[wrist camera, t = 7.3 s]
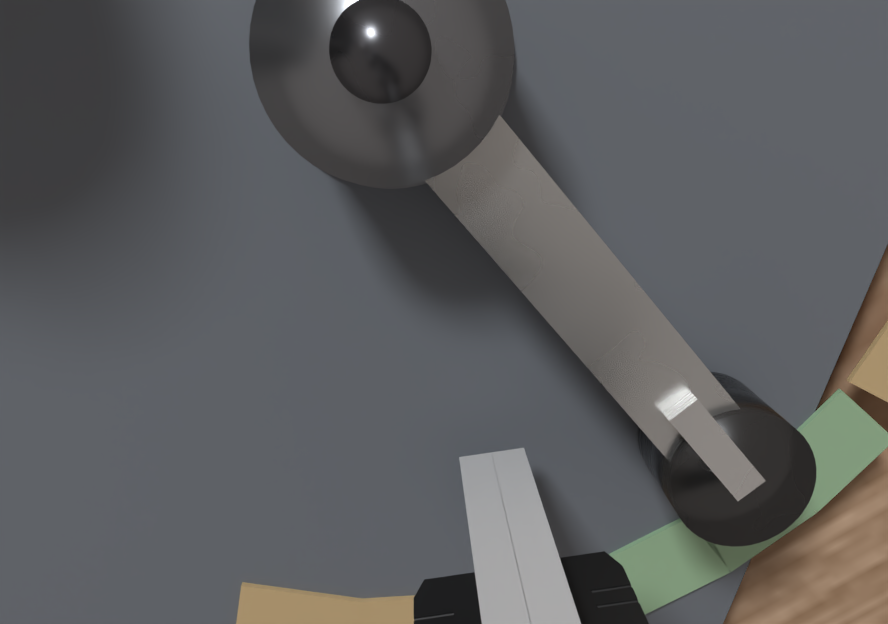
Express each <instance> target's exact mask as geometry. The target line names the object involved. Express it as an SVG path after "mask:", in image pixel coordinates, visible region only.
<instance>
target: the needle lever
mask: <svg viewBox="0 0 888 624" xmlns="http://www.w3.org/2000/svg"><path fill="white" fill-rule="evenodd" d="M249 53H250V64H251V70H252V75H253V80H254V83H255V87H256V90H257V93H258V96H259V99H260V101H261V103H262V105H263V107H264V109H265V112H266V114H267V115H268V117H269V119H270V120H271V122H272V123H273V125H274V127H275V128H276V130H277V131H278V132H279V133H280V135H281V136H282V137H283V138H284V140H285V141H286V142H287V143H288V144H289V145H290V146H291V147H292V148H293V149H294V150H295V151H296V152H297V153H298V154H299V155H300V156H302V157H303V158H304V159H306V160H307V161H308V162H310V163H311V164H312V165H314V166H315V167H317V168H319V169H321V170H322V171H324V172H326V173H328V174H330V175H332V176H335V177H337V178H340V179H342V180H345V181H349V182H352V183H356V184H360V185H367V186H375V187H395V186H402V185H410V184H413V183H417V182H421V181H425V182H426V183H427V184H428V185H429V186H430V187H431V188H432V190H433V191H434V192H435V193H436V194H437V195H438V196H439V198H440V199H441V200H442V201H443V202H444V203H445V205H446V206H447V207H448V208H449V209H450V210H451V211H452V213H453V214H454V215H455V216H456V217H457V218H458V219H459V221H460V222H461V223H462V224H463V225H464V226H465V228H466V229H467V230H468V231H469V232H470V233H471V234H472V236H473V237H474V238H475V239H476V240H477V241H478V242H479V244H480V245H481V246H482V247H483V248H484V249H485V251H486V252H487V253H488V254H489V255H490V256H491V257H492V259H493V260H494V261H495V262H496V263H497V264H498V265H499V267H500V268H501V269H502V270H503V271H504V272H505V274H506V275H507V276H508V277H509V278H510V279H511V280H512V282H513V283H514V284H515V285H516V286H517V287H518V288H519V290H520V291H521V292H522V293H523V294H524V295H525V296H526V298H527V299H528V300H529V301H530V302H531V303H532V305H533V306H534V307H535V308H536V309H537V310H538V311H539V313H540V314H541V315H542V316H543V317H544V318H545V319H546V321H547V322H548V323H549V324H550V325H551V326H552V328H553V329H554V330H555V331H556V332H557V333H558V334H559V336H560V337H561V338H562V339H563V340H564V341H565V342H566V344H567V345H568V346H569V347H570V348H571V349H572V351H573V352H574V353H575V354H576V355H577V356H578V357H579V359H580V360H581V361H582V362H583V363H584V364H585V365H586V367H587V368H588V369H589V370H590V371H591V372H592V374H593V375H594V376H595V377H596V378H597V379H598V380H599V382H600V383H601V384H602V385H603V386H604V387H605V388H606V390H607V391H608V392H609V393H610V394H611V395H612V397H613V398H614V399H615V400H616V401H617V402H618V403H619V405H620V406H621V407H622V408H623V409H624V410H625V411H626V413H627V414H628V415H629V416H630V417H631V418H632V420H633V421H634V422H635V423H636V424H637V425H638V435H637V437H638V446H639V451H640V454H641V456H642V458H643V460H644V462H645V464H646V466H647V467H648V469H649V470H650V472H651V473H652V475H653V477H654V478H655V480H656V481H657V483H658V484H659V486H660V488H661V489H662V491H663V492H664V494H665V495H666V497H667V499H668V500H669V502H670V503H671V505H672V506H673V508H674V510H675V511H676V513H677V514H678V516H679V517H680V519H681V520H682V522H683V523H684V524H685V526H686V527H687V528H688V529H689V530H690V531H691V532H693V533H694V534H696V535H697V536H698V537H700V538H702V539H704V540H706V541H708V542H711V543H714V544H718V545H722V546H731V547H736V546H748V545H753V544H757V543H760V542H763V541H766V540H768V539H770V538H772V537H774V536H776V535H778V534H780V533H781V532H783V531H784V530H786V529H787V528H788V527H789V526H791V525H792V524H793V523H794V522H795V521H796V520H797V519H798V518H799V516H800V515H801V514H802V513H803V511H804V510H805V508H806V507H807V505H808V503H809V501H810V499H811V497H812V494H813V491H814V488H815V483H816V461H815V457H814V454H813V451H812V449H811V447H810V445H809V443H808V442H807V440H806V439H805V437H804V436H803V435H802V434H801V433H800V432H799V431H798V430H797V429H796V428H794V427H793V426H792V425H791V424H790V423H789V422H787V421H786V420H785V419H784V418H783V417H782V416H780V415H779V414H778V413H777V412H776V411H775V410H773V409H772V408H771V407H770V406H769V405H768V404H766V403H765V402H764V401H763V400H762V399H761V398H759V397H758V396H757V395H756V394H755V393H754V392H753V391H751V390H750V389H749V388H748V387H747V386H745V385H744V384H743V383H742V382H740V381H739V380H737V379H735V378H733V377H731V376H728V375H725V374H721V373H716V372H710V371H709V370H708V368H707V367H706V366H705V365H704V364H703V362H702V361H701V360H700V359H699V358H698V356H697V355H696V354H695V353H694V351H693V350H692V349H691V348H690V347H689V345H688V344H687V343H686V342H685V340H684V339H683V338H682V337H681V336H680V334H679V333H678V332H677V331H676V329H675V328H674V327H673V326H672V325H671V323H670V322H669V321H668V320H667V318H666V317H665V316H664V315H663V314H662V312H661V311H660V310H659V309H658V307H657V306H656V305H655V304H654V303H653V301H652V300H651V299H650V298H649V296H648V295H647V294H646V293H645V292H644V290H643V289H642V288H641V287H640V286H639V284H638V283H637V282H636V281H635V279H634V278H633V277H632V276H631V275H630V273H629V272H628V271H627V270H626V268H625V267H624V266H623V265H622V264H621V262H620V261H619V260H618V259H617V257H616V256H615V255H614V254H613V253H612V251H611V250H610V249H609V248H608V246H607V245H606V244H605V243H604V242H603V240H602V239H601V238H600V237H599V235H598V234H597V233H596V232H595V231H594V229H593V228H592V227H591V226H590V224H589V223H588V222H587V221H586V220H585V218H584V217H583V216H582V215H581V213H580V212H579V211H578V210H577V209H576V207H575V206H574V205H573V204H572V203H571V201H570V200H569V199H568V198H567V196H566V195H565V194H564V193H563V192H562V190H561V189H560V188H559V187H558V185H557V184H556V183H555V182H554V181H553V179H552V178H551V177H550V176H549V174H548V173H547V172H546V171H545V170H544V168H543V167H542V166H541V165H540V163H539V162H538V161H537V160H536V159H535V157H534V156H533V155H532V154H531V152H530V151H529V150H528V149H527V148H526V146H525V145H524V144H523V143H522V141H521V140H520V139H519V138H518V137H517V135H516V134H515V133H514V132H513V130H512V129H511V128H510V127H509V126H508V124H507V123H506V122H505V121H504V120H503V118H502V117H501V116H500V115H499V114H500V112H501V110H502V107H503V105H504V103H505V100H506V98H507V94H508V91H509V87H510V84H511V79H512V72H513V66H514V37H513V27H512V23H511V18H510V14H509V9H508V6H507V4H506V1H505V0H256V1H255V4H254V8H253V13H252V18H251V23H250V35H249Z"/></svg>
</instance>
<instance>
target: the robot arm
mask: <svg viewBox="0 0 888 624" xmlns="http://www.w3.org/2000/svg"><path fill="white" fill-rule="evenodd" d="M459 460H460V467H461V475H462V482H463V489H464V497H465V504H466V512H467V519H468V526H469V534H470V541H471V548H472V556H473V563H474V570H475V572H472V573H465V574H458V575H452V576H445V577H438V578H431V579H424V581H423V582H422V584H421V586H420V588H419V589H418V591H417V593H416V595H415V596H414V624H649V623H648V621H647V618H646V616H645V614H644V612H643V610H642V607H641V605H640V603H638V599H637V596H636V594H635V592H634V590H633V588H632V587H631V583H630V581H629V579H628V577H627V574H626V572H625V570H624V568H623V566H622V565H621V564H620V563H619V562H617V561H616V560H615V559H614V558H612V557H611V556H610V555H609V554H607V553H606V552H605V551H603V552H596V553H589V554H582V555H576V556H569V557H562V558H560V557H559V554H558V551H557V548H556V545H555V542H554V539H553V536H552V533H551V529H550V526H549V523H548V520H547V517H546V514H545V511H544V508H543V505H542V502H541V499H540V496H539V493H538V489H537V486H536V483H535V480H534V477H533V474H532V471H531V468H530V465H529V462H528V459H527V456H526V453H525V450H524V448H518V449H511V450H505V451H498V452H491V453H484V454H477V455H470V456H463V457H459Z"/></svg>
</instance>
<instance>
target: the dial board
mask: <svg viewBox="0 0 888 624" xmlns="http://www.w3.org/2000/svg"><path fill="white" fill-rule="evenodd" d="M255 1H256V0H0V624H414V596H415V595H416V593H417V591H418V589H419V588H420V586H421V584H422V582H423V581H424V579H431V578H438V577H445V576H452V575H458V574H465V573H472V572H475V570H474V563H473V556H472V548H471V541H470V534H469V526H468V519H467V512H466V504H465V497H464V489H463V482H462V475H461V467H460V460H459V457H463V456H470V455H477V454H484V453H491V452H498V451H505V450H511V449H518V448H524V450H525V453H526V456H527V459H528V462H529V465H530V468H531V471H532V474H533V477H534V480H535V483H536V486H537V489H538V493H539V496H540V499H541V502H542V505H543V508H544V511H545V514H546V517H547V520H548V523H549V526H550V529H551V533H552V536H553V539H554V542H555V545H556V548H557V551H558V554H559V557H560V558H562V557H569V556H576V555H582V554H589V553H596V552H603V551H605V552H606V553H607V554H609V555H610V556H611V557H612V558H614V559H615V560H616V561H617V562H619V563H620V564H621V565H622V566H623V568H624V570H625V572H626V574H627V577H628V579H629V581H630V583H631V587H632V588H633V590H634V592H635V594H636V596H637V599H638V603H640V605H641V607H642V610H643V612H644V614H645V616H646V618H647V621H648V623H649V624H723V622H724V620H725V618H726V616H727V613H728V611H729V609H730V606H731V604H732V602H733V599H734V597H735V595H736V592H737V590H738V588H739V586H740V583H741V581H742V579H743V576H744V574H745V572H746V569H747V567H748V565H749V563H750V560H751V558H752V557H754V556H755V555H757V554H758V553H760V552H761V551H762V550H764V549H765V548H767V547H768V546H770V545H771V544H773V543H774V542H776V541H777V540H778V539H780V538H781V537H783V536H784V535H786V534H787V533H789V532H790V531H791V530H793V529H794V528H796V527H797V526H799V525H800V524H802V523H803V522H804V521H806V520H807V519H809V518H810V517H812V516H813V515H815V514H816V512H818V511H820V510H821V509H822V508H823V507H824V506H825V505H826V504H827V503H828V502H829V501H830V500H831V499H832V498H833V497H835V496H836V495H837V494H838V493H839V492H840V491H841V490H842V489H843V488H844V487H845V486H846V485H847V484H848V483H849V482H851V481H852V480H853V479H854V478H855V477H856V476H857V475H858V474H859V473H860V472H861V471H862V470H863V469H864V468H866V467H867V466H868V465H869V464H870V463H871V462H872V461H873V460H874V459H875V458H876V457H877V456H878V455H879V454H881V453H882V452H883V451H884V450H885V449H886V448H887V447H888V432H887V431H886V430H885V429H883V428H882V427H881V426H880V425H879V424H878V423H877V422H876V421H875V420H874V419H873V418H871V417H870V416H869V415H868V414H867V413H866V412H865V411H864V410H863V409H862V408H860V407H859V406H858V405H857V404H856V403H855V402H854V401H853V400H852V399H851V398H850V397H848V396H847V395H846V394H845V393H844V392H843V391H842V390H840V389H838V390H837V391H836V392H835V393H834V394H833V395H832V396H831V397H830V398H829V399H828V400H827V401H826V402H825V403H823V404H822V405H821V406H820V407H819V408H818V409H817V410H816V408H817V406H818V404H819V401H820V399H821V397H822V394H823V392H824V390H825V387H826V385H827V383H828V380H829V378H830V376H831V374H832V371H833V369H834V367H835V364H836V362H837V360H838V357H839V355H840V353H841V351H842V348H843V346H844V344H845V341H846V339H847V337H848V334H849V332H850V330H851V327H852V325H853V323H854V321H855V318H856V316H857V314H858V311H859V309H860V307H861V304H862V302H863V300H864V298H865V295H866V293H867V291H868V288H869V286H870V284H871V281H872V279H873V277H874V274H875V272H876V270H877V268H878V265H879V263H880V261H881V258H882V256H883V254H884V251H885V249H886V247H887V245H888V0H505V1H506V4H507V6H508V9H509V14H510V18H511V23H512V27H513V37H514V66H513V72H512V79H511V84H510V87H509V91H508V94H507V98H506V100H505V103H504V105H503V107H502V110H501V112H500V114H499V115H500V116H501V117H502V118H503V120H504V121H505V122H506V123H507V124H508V126H509V127H510V128H511V129H512V130H513V132H514V133H515V134H516V135H517V137H518V138H519V139H520V140H521V141H522V143H523V144H524V145H525V146H526V148H527V149H528V150H529V151H530V152H531V154H532V155H533V156H534V157H535V159H536V160H537V161H538V162H539V163H540V165H541V166H542V167H543V168H544V170H545V171H546V172H547V173H548V174H549V176H550V177H551V178H552V179H553V181H554V182H555V183H556V184H557V185H558V187H559V188H560V189H561V190H562V192H563V193H564V194H565V195H566V196H567V198H568V199H569V200H570V201H571V203H572V204H573V205H574V206H575V207H576V209H577V210H578V211H579V212H580V213H581V215H582V216H583V217H584V218H585V220H586V221H587V222H588V223H589V224H590V226H591V227H592V228H593V229H594V231H595V232H596V233H597V234H598V235H599V237H600V238H601V239H602V240H603V242H604V243H605V244H606V245H607V246H608V248H609V249H610V250H611V251H612V253H613V254H614V255H615V256H616V257H617V259H618V260H619V261H620V262H621V264H622V265H623V266H624V267H625V268H626V270H627V271H628V272H629V273H630V275H631V276H632V277H633V278H634V279H635V281H636V282H637V283H638V284H639V286H640V287H641V288H642V289H643V290H644V292H645V293H646V294H647V295H648V296H649V298H650V299H651V300H652V301H653V303H654V304H655V305H656V306H657V307H658V309H659V310H660V311H661V312H662V314H663V315H664V316H665V317H666V318H667V320H668V321H669V322H670V323H671V325H672V326H673V327H674V328H675V329H676V331H677V332H678V333H679V334H680V336H681V337H682V338H683V339H684V340H685V342H686V343H687V344H688V345H689V347H690V348H691V349H692V350H693V351H694V353H695V354H696V355H697V356H698V358H699V359H700V360H701V361H702V362H703V364H704V365H705V366H706V367H707V368H708V370H709V371H710V372H716V373H721V374H725V375H728V376H731V377H733V378H735V379H737V380H739V381H740V382H742V383H743V384H744V385H745V386H747V387H748V388H749V389H750V390H751V391H753V392H754V393H755V394H756V395H757V396H758V397H759V398H761V399H762V400H763V401H764V402H765V403H766V404H768V405H769V406H770V407H771V408H772V409H773V410H775V411H776V412H777V413H778V414H779V415H780V416H782V417H783V418H784V419H785V420H786V421H787V422H789V423H790V424H791V425H792V426H793V427H794V428H796V429H797V430H798V431H799V432H800V433H801V434H802V435H803V436H804V437H805V439H806V440H807V442H808V443H809V445H810V447H811V449H812V451H813V454H814V457H815V461H816V483H815V488H814V491H813V494H812V497H811V499H810V501H809V503H808V505H807V507H806V508H805V510H804V511H803V513H802V514H801V515H800V516H799V518H798V519H797V520H796V521H795V522H794V523H793V524H792V525H791V526H789V527H788V528H787V529H786V530H784V531H783V532H781V533H780V534H778V535H776V536H774V537H772V538H770V539H768V540H766V541H763V542H760V543H757V544H753V545H748V546H736V547H731V546H722V545H718V544H714V543H711V542H708V541H706V540H704V539H702V538H700V537H698V536H697V535H696V534H694V533H693V532H691V531H690V530H689V529H688V528H687V527H686V526H685V524H684V523H683V522H682V520H681V519H680V517H679V516H678V514H677V513H676V511H675V510H674V508H673V506H672V505H671V503H670V502H669V500H668V499H667V497H666V495H665V494H664V492H663V491H662V489H661V488H660V486H659V484H658V483H657V481H656V480H655V478H654V477H653V475H652V473H651V472H650V470H649V469H648V467H647V466H646V464H645V462H644V460H643V458H642V456H641V454H640V451H639V446H638V437H637V435H638V425H637V424H636V423H635V422H634V421H633V420H632V418H631V417H630V416H629V415H628V414H627V413H626V411H625V410H624V409H623V408H622V407H621V406H620V405H619V403H618V402H617V401H616V400H615V399H614V398H613V397H612V395H611V394H610V393H609V392H608V391H607V390H606V388H605V387H604V386H603V385H602V384H601V383H600V382H599V380H598V379H597V378H596V377H595V376H594V375H593V374H592V372H591V371H590V370H589V369H588V368H587V367H586V365H585V364H584V363H583V362H582V361H581V360H580V359H579V357H578V356H577V355H576V354H575V353H574V352H573V351H572V349H571V348H570V347H569V346H568V345H567V344H566V342H565V341H564V340H563V339H562V338H561V337H560V336H559V334H558V333H557V332H556V331H555V330H554V329H553V328H552V326H551V325H550V324H549V323H548V322H547V321H546V319H545V318H544V317H543V316H542V315H541V314H540V313H539V311H538V310H537V309H536V308H535V307H534V306H533V305H532V303H531V302H530V301H529V300H528V299H527V298H526V296H525V295H524V294H523V293H522V292H521V291H520V290H519V288H518V287H517V286H516V285H515V284H514V283H513V282H512V280H511V279H510V278H509V277H508V276H507V275H506V274H505V272H504V271H503V270H502V269H501V268H500V267H499V265H498V264H497V263H496V262H495V261H494V260H493V259H492V257H491V256H490V255H489V254H488V253H487V252H486V251H485V249H484V248H483V247H482V246H481V245H480V244H479V242H478V241H477V240H476V239H475V238H474V237H473V236H472V234H471V233H470V232H469V231H468V230H467V229H466V228H465V226H464V225H463V224H462V223H461V222H460V221H459V219H458V218H457V217H456V216H455V215H454V214H453V213H452V211H451V210H450V209H449V208H448V207H447V206H446V205H445V203H444V202H443V201H442V200H441V199H440V198H439V196H438V195H437V194H436V193H435V192H434V191H433V190H432V188H431V187H430V186H429V185H428V184H427V183H426V182H425V181H421V182H417V183H413V184H410V185H402V186H395V187H375V186H367V185H360V184H356V183H352V182H349V181H345V180H342V179H340V178H337V177H335V176H332V175H330V174H328V173H326V172H324V171H322V170H321V169H319V168H317V167H315V166H314V165H312V164H311V163H310V162H308V161H307V160H306V159H304V158H303V157H302V156H300V155H299V154H298V153H297V152H296V151H295V150H294V149H293V148H292V147H291V146H290V145H289V144H288V143H287V142H286V141H285V140H284V138H283V137H282V136H281V135H280V133H279V132H278V131H277V130H276V128H275V127H274V125H273V123H272V122H271V120H270V119H269V117H268V115H267V114H266V112H265V109H264V107H263V105H262V103H261V101H260V99H259V96H258V93H257V90H256V87H255V83H254V80H253V75H252V70H251V64H250V53H249V35H250V23H251V18H252V13H253V8H254V4H255ZM847 381H848V382H850V383H852V384H854V385H856V386H858V387H859V388H861V389H863V390H865V391H867V392H869V393H871V394H873V395H875V396H877V397H878V398H880V399H882V400H884V401H886V402H888V320H887V322H886V323H885V325H884V326H883V328H882V329H881V331H880V332H879V334H878V335H877V336H876V338H875V339H874V341H873V342H872V344H871V345H870V347H869V348H868V349H867V351H866V352H865V354H864V355H863V357H862V358H861V360H860V361H859V362H858V364H857V365H856V367H855V368H854V370H853V371H852V373H851V374H850V375H849V377H848V378H847ZM815 410H816V411H815ZM815 511H816V512H815Z"/></svg>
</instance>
